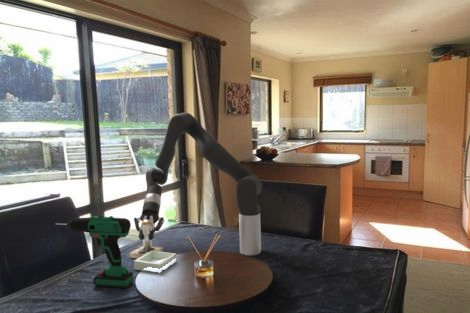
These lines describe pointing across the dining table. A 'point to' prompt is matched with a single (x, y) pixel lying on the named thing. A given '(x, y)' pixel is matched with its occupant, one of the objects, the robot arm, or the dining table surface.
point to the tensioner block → (143, 252)
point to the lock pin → (146, 235)
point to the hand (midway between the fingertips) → (145, 239)
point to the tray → (153, 260)
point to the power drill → (107, 247)
